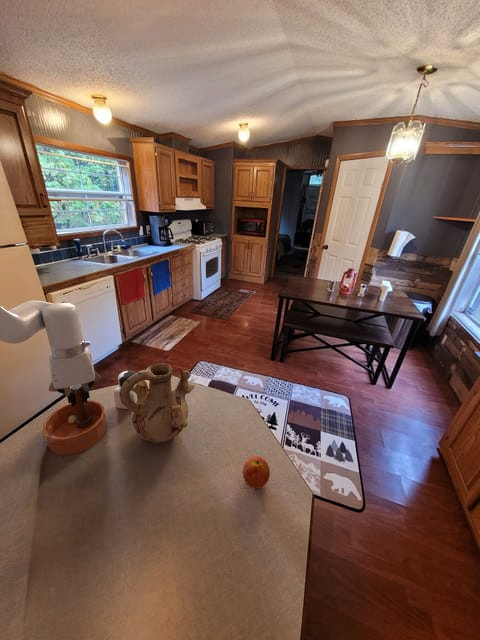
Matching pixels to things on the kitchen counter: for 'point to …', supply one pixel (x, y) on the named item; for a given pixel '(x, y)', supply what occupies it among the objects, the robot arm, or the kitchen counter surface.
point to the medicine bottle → (121, 380)
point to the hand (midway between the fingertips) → (79, 401)
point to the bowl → (74, 429)
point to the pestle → (81, 408)
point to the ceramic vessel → (157, 402)
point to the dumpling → (72, 419)
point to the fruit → (256, 472)
